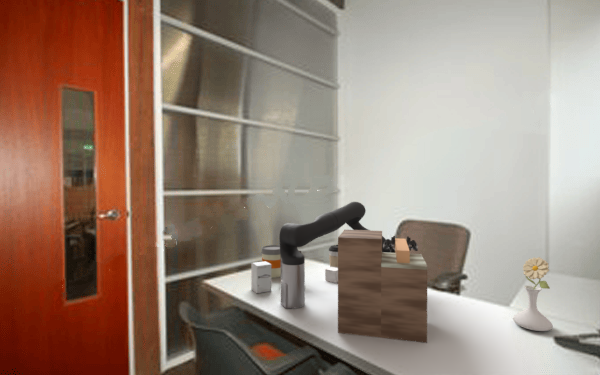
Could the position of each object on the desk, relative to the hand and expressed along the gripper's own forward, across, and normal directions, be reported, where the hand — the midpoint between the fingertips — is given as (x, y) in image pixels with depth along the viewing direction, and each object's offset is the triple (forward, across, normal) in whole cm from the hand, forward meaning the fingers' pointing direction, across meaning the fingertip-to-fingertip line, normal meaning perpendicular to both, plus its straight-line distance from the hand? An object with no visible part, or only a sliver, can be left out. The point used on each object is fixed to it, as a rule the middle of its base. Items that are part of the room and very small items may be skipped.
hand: (401, 238), depth 127 cm
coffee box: (-36, -50, +13) cm, 63 cm away
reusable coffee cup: (-47, -64, +6) cm, 80 cm away
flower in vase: (-13, +44, +26) cm, 53 cm away
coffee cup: (-58, -32, 0) cm, 66 cm away
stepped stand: (-3, -7, +31) cm, 32 cm away
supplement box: (-26, -61, +19) cm, 69 cm away
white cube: (-46, -31, +7) cm, 56 cm away
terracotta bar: (+3, 0, +8) cm, 8 cm away
